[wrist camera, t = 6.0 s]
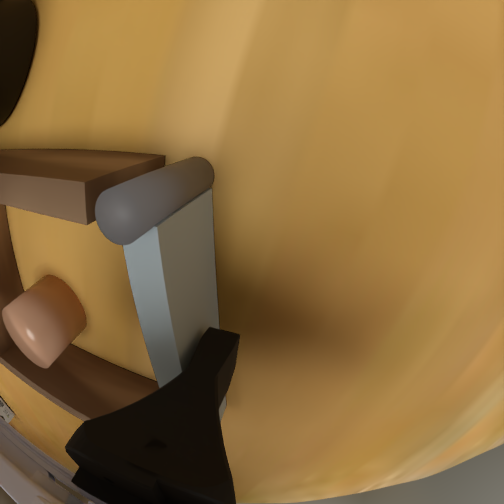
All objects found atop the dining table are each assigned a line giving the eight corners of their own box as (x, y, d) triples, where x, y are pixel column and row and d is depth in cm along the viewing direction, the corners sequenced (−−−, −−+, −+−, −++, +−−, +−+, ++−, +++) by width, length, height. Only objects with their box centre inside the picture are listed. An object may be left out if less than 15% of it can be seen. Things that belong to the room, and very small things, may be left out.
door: (228, 405, 16) (204, 473, 12) (206, 400, 17) (179, 465, 12) (213, 156, 10) (138, 187, 6) (179, 157, 11) (91, 188, 6)
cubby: (170, 396, 17) (143, 450, 13) (30, 329, 19) (-2, 360, 15) (164, 155, 11) (84, 182, 7) (-8, 150, 12) (-61, 169, 8)
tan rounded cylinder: (92, 340, 17) (58, 379, 13) (49, 318, 17) (16, 350, 14) (79, 285, 15) (35, 324, 11) (35, 267, 15) (-6, 297, 12)
